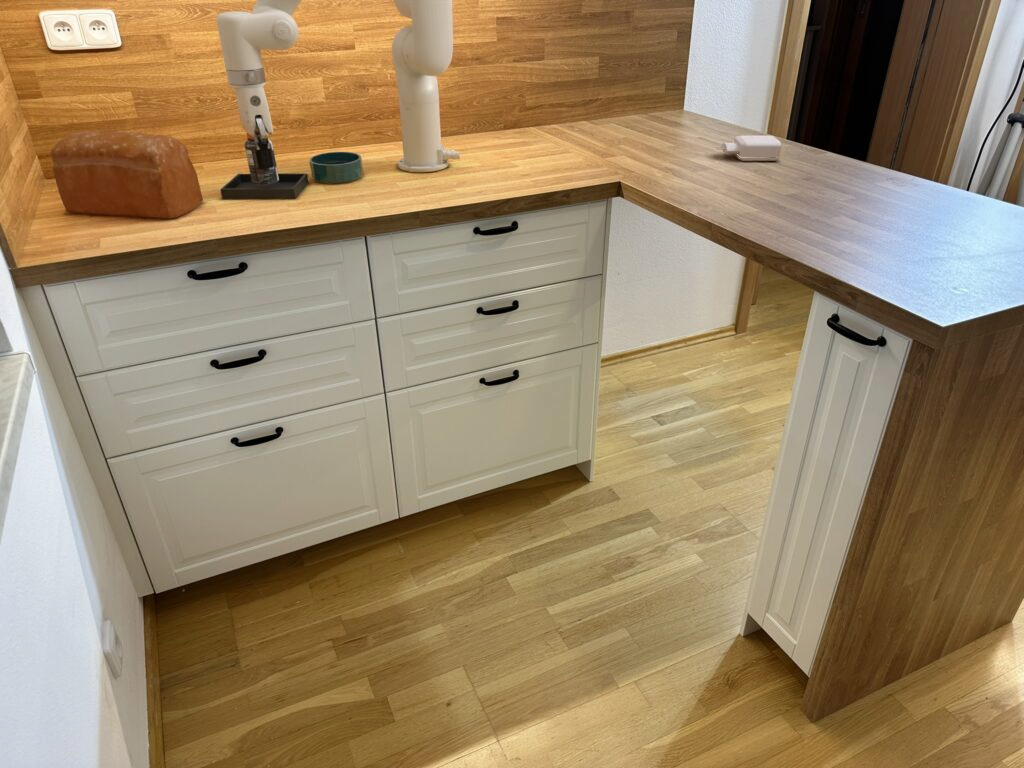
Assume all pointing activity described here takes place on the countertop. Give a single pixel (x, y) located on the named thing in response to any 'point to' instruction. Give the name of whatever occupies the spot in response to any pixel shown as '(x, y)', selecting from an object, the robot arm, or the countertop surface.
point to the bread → (125, 174)
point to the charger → (753, 148)
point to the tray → (265, 187)
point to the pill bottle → (257, 175)
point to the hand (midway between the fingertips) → (262, 163)
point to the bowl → (336, 167)
